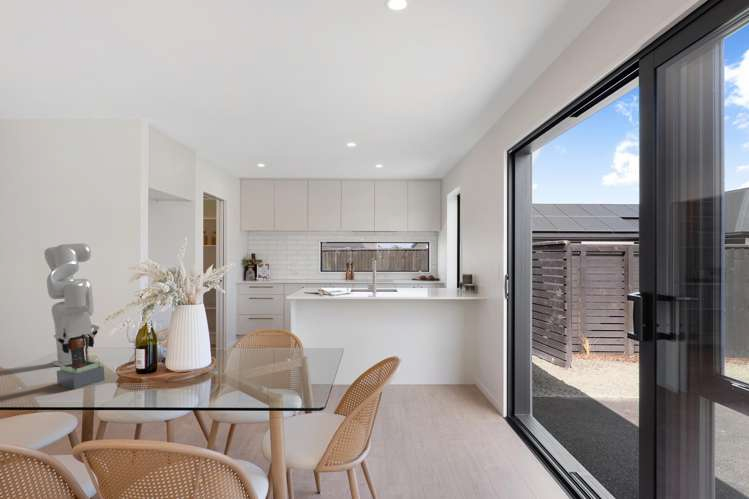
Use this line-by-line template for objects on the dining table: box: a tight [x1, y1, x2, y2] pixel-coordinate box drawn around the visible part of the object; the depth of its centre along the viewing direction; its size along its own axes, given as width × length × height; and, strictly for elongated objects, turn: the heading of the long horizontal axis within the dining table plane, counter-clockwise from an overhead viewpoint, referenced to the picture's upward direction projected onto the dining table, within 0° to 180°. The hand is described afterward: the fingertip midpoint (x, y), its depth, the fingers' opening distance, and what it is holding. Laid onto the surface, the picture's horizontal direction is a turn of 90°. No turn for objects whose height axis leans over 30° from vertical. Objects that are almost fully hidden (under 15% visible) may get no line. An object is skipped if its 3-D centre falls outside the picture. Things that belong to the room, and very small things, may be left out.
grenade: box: [68, 334, 89, 368], centre depth 183 cm, size 6×8×15 cm
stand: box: [56, 359, 106, 390], centre depth 183 cm, size 14×12×8 cm
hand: (78, 349), depth 183 cm, fingers open, 9 cm apart
